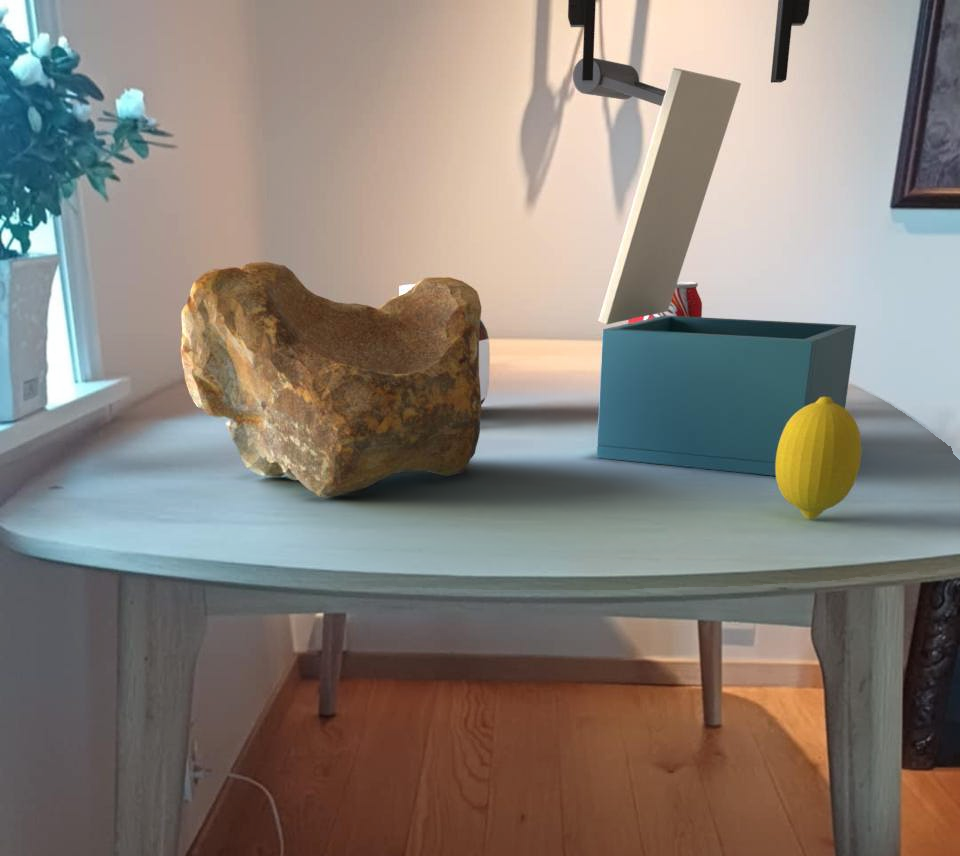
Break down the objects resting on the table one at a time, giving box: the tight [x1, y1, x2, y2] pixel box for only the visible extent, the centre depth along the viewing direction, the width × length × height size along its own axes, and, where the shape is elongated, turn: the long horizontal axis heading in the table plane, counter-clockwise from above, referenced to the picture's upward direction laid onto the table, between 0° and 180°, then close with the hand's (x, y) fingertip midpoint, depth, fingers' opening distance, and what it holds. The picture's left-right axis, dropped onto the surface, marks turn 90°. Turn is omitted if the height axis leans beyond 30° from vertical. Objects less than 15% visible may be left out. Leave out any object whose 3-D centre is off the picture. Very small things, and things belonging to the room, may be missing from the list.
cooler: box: [596, 316, 857, 477], centre depth 105 cm, size 17×14×10 cm
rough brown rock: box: [180, 261, 482, 499], centre depth 92 cm, size 23×17×15 cm
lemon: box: [775, 397, 862, 520], centre depth 84 cm, size 6×6×8 cm
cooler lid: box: [572, 57, 742, 325], centre depth 102 cm, size 18×14×10 cm
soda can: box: [627, 280, 703, 324], centre depth 122 cm, size 7×7×12 cm
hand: (682, 82), depth 90 cm, fingers open, 13 cm apart
